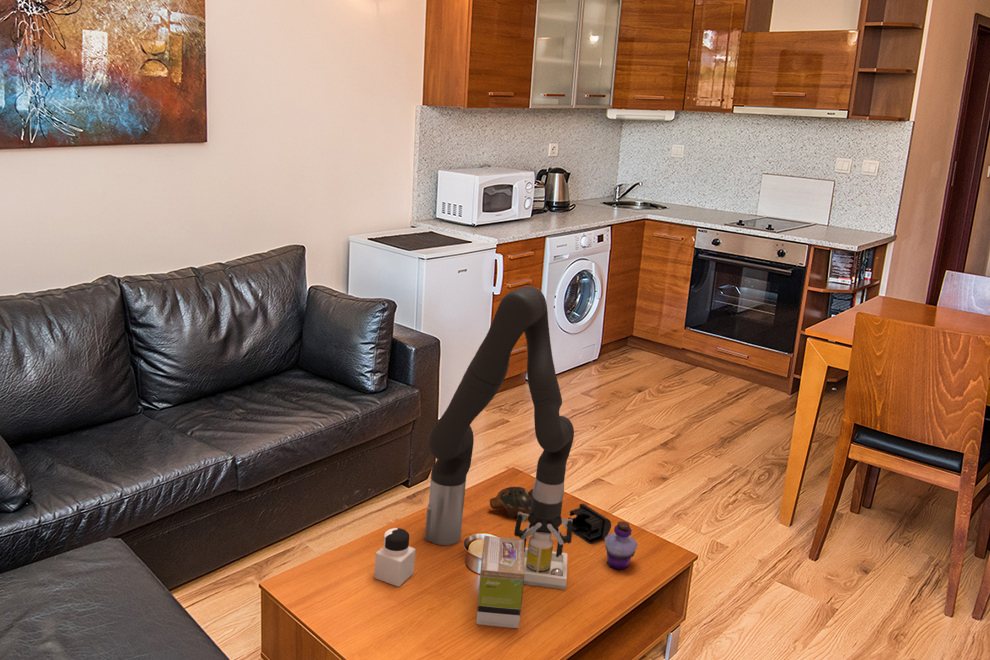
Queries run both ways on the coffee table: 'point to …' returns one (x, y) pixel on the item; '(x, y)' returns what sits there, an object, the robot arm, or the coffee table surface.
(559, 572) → the steel ball
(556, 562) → the tray
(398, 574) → the medicine bottle
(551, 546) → the pill bottle
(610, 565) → the potion bottle
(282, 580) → the coffee table surface
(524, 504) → the decorative turtle
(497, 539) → the tea box
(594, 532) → the end cap
